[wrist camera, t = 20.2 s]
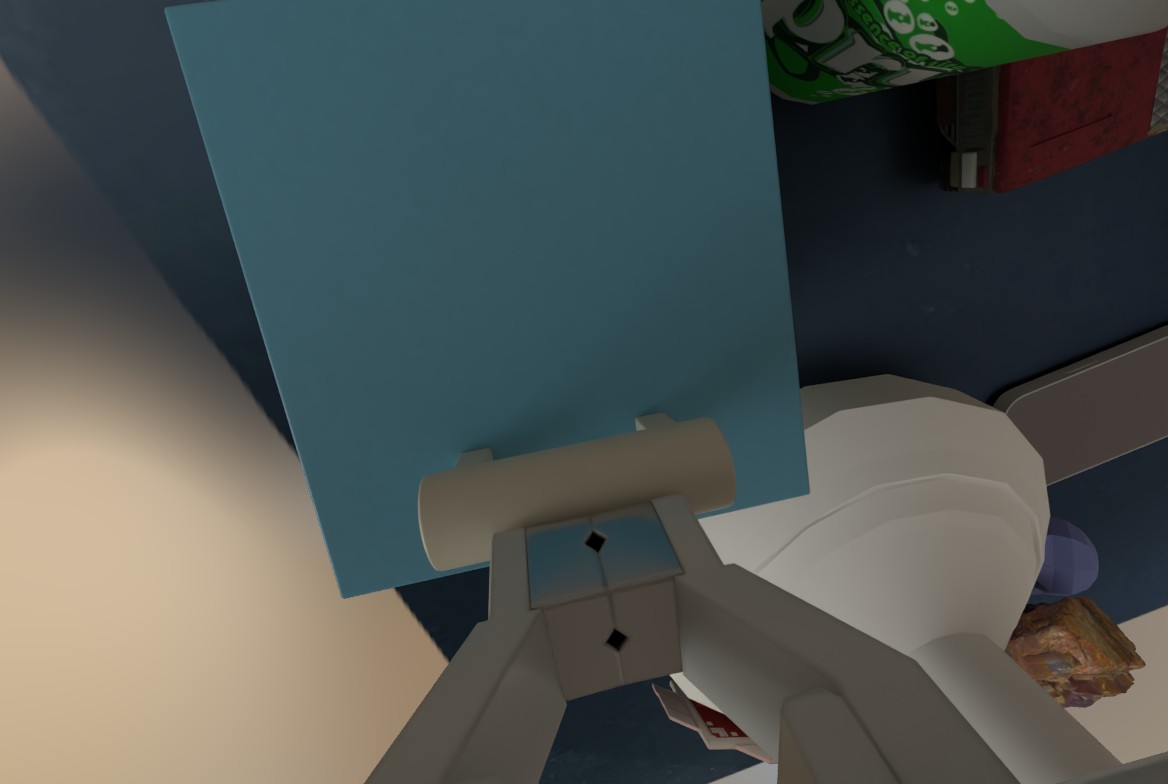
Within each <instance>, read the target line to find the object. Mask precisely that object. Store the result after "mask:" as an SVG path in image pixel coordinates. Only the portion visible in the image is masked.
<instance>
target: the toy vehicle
mask: <svg viewBox="0 0 1168 784" xmlns="http://www.w3.org/2000/svg"><path fill="white" fill-rule="evenodd" d="M936 86H937V125H939V127H940V131H941V133H942V134H943V135H944V136H945V138H946V139H947V140H948V141H949V142H950V143H951V144H953V145H954V146H955V147H954V148H950V149H948V151H944V152H943V153H941V154H940V156H939V182H940V188H941V190H943V189H944V191H947V190H949V191H956V192H958V191H965V192H975V193H985V194H995V192H999V193H1004V192H1008V191H1011V190H1014V189H1017V188H1020V187H1023V186H1025V185H1028V184H1031V183H1033V182H1036V181H1039V180H1041V179H1044V178H1047V177H1049V176H1052V175H1054V174H1057V173H1060V172H1062V171H1065V170H1067V169H1070V168H1073V167H1075V166H1078V165H1080V164H1083V163H1085V162H1088V161H1091V160H1093V159H1096V158H1098V157H1101V156H1103V155H1106V154H1108V153H1111V152H1113V151H1116V150H1118V149H1121V148H1123V147H1126V146H1128V145H1131V144H1134V143H1136V142H1139V141H1141V140H1144V139H1146V138H1149V137H1151V136H1154V135H1157V134H1159V133H1162V132H1164V131H1167V130H1168V26H1166V27H1165V28H1163V29H1160V30H1158V31H1155V32H1151V33H1147V34H1142V35H1137V36H1132V37H1128V38H1123V39H1118V40H1114V41H1109V42H1104V43H1100V44H1095V45H1090V46H1086V47H1081V48H1076V49H1071V50H1067V51H1062V52H1057V53H1053V54H1048V55H1043V56H1039V57H1034V58H1029V59H1024V60H1020V61H1015V62H1010V63H1006V64H1001V65H996V66H992V67H987V68H982V69H978V70H973V71H968V72H963V73H959V74H956V140H955V74H954V75H951V76H945V77H940V78H937V79H936ZM944 125H945V127H944ZM949 125H951V135H950V134H949Z"/></svg>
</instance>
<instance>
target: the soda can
mask: <svg viewBox="0 0 1168 784" xmlns="http://www.w3.org/2000/svg"><path fill="white" fill-rule="evenodd" d="M761 6H762V16H763V26H764V36H765V46H766V56H767V66H768V76H769V86H770V91H771V92H773V93H774V94H776V95H777V96H779V97H780V98H782V99H784V100H790V101H795V102H801V103H806V104H812V105H813V104H818V103H823V102H827V101H832V100H837V99H841V98H846V97H851V96H856V95H860V94H865V93H870V92H874V91H879V90H884V89H888V88H893V87H898V86H902V85H907V84H912V83H917V82H921V81H926V80H931V79H935V78H940V77H945V76H949V75H954V74H959V73H963V72H968V71H973V70H978V69H982V68H987V67H992V66H996V65H1001V64H1006V63H1010V62H1015V61H1020V60H1024V59H1029V58H1034V57H1039V56H1043V55H1048V54H1053V53H1057V52H1062V51H1067V50H1071V49H1076V48H1081V47H1086V46H1090V45H1095V44H1100V43H1104V42H1109V41H1114V40H1118V39H1123V38H1128V37H1132V36H1137V35H1142V34H1147V33H1151V32H1155V31H1158V30H1160V29H1163V28H1165V27H1166V26H1168V0H761Z"/></svg>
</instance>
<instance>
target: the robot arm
mask: <svg viewBox="0 0 1168 784" xmlns="http://www.w3.org/2000/svg"><path fill="white" fill-rule="evenodd" d="M680 672H683V675H684V676H685V677H686V678H687V679H688V680H689V681H690V682H691V683H692V684H693V685H694V686H695V687H696V688H697V689H698V690H700V691H701V692H702V693H703V694H704V695H705V696H706V697H707V698H708V699H709V700H710V701H711V702H712V703H713V704H714V705H715V706H717V707H718V708H719V709H720V710H721V711H722V712H723V713H724V714H725V715H726V716H727V717H728V718H729V719H730V720H731V721H732V722H734V723H735V724H736V725H737V726H738V727H739V728H740V729H741V730H742V731H743V732H744V733H745V734H746V735H747V736H748V737H749V738H751V739H752V740H753V741H754V742H755V743H756V744H757V745H758V746H759V747H760V748H761V749H762V750H763V751H764V752H765V753H766V754H768V755H769V756H770V757H771V758H772V759H773V760H774V761H775V762H776V763H777V764H778V779H777V780H778V781H777V784H1021V783H1020V782H1019V781H1018V779H1017V778H1016V777H1015V776H1014V775H1013V774H1012V772H1011V771H1010V770H1009V769H1008V768H1007V767H1006V765H1005V764H1004V763H1003V762H1002V761H1001V760H1000V758H999V757H998V756H997V755H996V754H995V753H994V751H993V750H992V749H991V748H990V747H989V745H988V744H987V743H986V742H985V741H984V740H983V738H982V737H981V736H980V735H979V734H978V733H977V731H976V730H975V729H974V728H973V727H972V726H971V724H970V723H969V722H968V721H967V720H966V719H965V717H964V716H963V715H962V714H961V713H960V711H959V710H958V709H957V708H956V707H955V706H954V704H953V703H952V702H951V701H950V700H949V699H948V697H947V696H946V695H945V694H944V693H943V692H942V690H941V689H940V688H939V687H938V686H937V685H936V683H935V682H934V681H933V680H932V679H931V678H930V676H929V675H928V674H927V673H926V672H925V670H924V669H923V668H922V667H921V666H920V665H919V663H918V662H917V661H916V660H914V659H912V658H911V657H909V656H907V655H905V654H903V653H901V652H899V651H897V650H896V649H894V648H892V647H890V646H888V645H886V644H884V643H883V642H881V641H879V640H877V639H875V638H873V637H871V636H869V635H868V634H866V633H864V632H862V631H860V630H858V629H856V628H855V627H853V626H851V625H849V624H847V623H845V622H843V621H841V620H840V619H838V618H836V617H834V616H832V615H830V614H828V613H827V612H825V611H823V610H821V609H819V608H817V607H815V606H813V605H812V604H810V603H808V602H806V601H804V600H802V599H800V598H799V597H797V596H795V595H793V594H791V593H789V592H787V591H785V590H784V589H782V588H780V587H778V586H776V585H774V584H772V583H771V582H769V581H767V580H765V579H763V578H761V577H759V576H757V575H756V574H754V573H752V572H750V571H748V570H746V569H744V568H743V567H741V566H739V565H737V564H735V563H732V564H727V565H724V564H723V562H722V561H721V559H720V557H719V555H718V554H717V552H716V550H715V548H714V547H713V545H712V543H711V542H710V540H709V538H708V536H707V535H706V533H705V531H704V529H703V528H702V526H701V524H700V523H699V521H698V519H697V517H696V516H695V514H694V512H693V510H692V509H691V507H690V505H689V504H688V502H687V500H686V498H685V497H684V495H682V494H681V493H676V494H672V495H667V496H663V497H659V498H655V499H651V500H649V501H647V502H642V503H638V504H633V505H629V506H625V507H620V508H616V509H611V510H607V511H603V512H598V513H594V514H589V515H583V516H578V517H573V518H568V519H563V520H557V521H552V522H547V523H542V524H537V525H532V526H527V527H526V528H519V529H514V530H509V531H504V532H500V533H495V534H493V536H492V539H491V547H490V581H489V614H488V621H484V622H480V623H477V625H476V626H475V628H474V629H473V630H472V632H471V633H470V635H469V636H468V637H467V639H466V640H465V642H464V643H463V644H462V646H461V647H460V649H459V650H458V652H457V653H456V654H455V656H454V657H453V659H452V660H451V661H450V663H449V664H448V666H447V667H446V669H445V670H444V671H443V673H442V674H441V676H440V677H439V678H438V680H437V681H436V683H435V684H434V685H433V687H432V689H431V690H430V691H429V693H428V694H427V695H426V697H425V698H424V700H423V701H422V702H421V704H420V705H419V707H418V708H417V709H416V711H415V712H414V714H413V715H412V717H411V718H410V719H409V721H408V722H407V724H406V725H405V727H404V728H403V729H402V731H401V732H400V734H399V735H398V736H397V738H396V739H395V741H394V742H393V744H392V745H391V746H390V748H389V749H388V750H387V752H386V753H385V755H384V756H383V758H382V759H381V760H380V762H379V763H378V765H377V766H376V767H375V769H374V770H373V772H372V773H371V775H370V776H369V777H368V779H367V780H366V782H365V783H364V784H538V782H539V779H540V777H541V774H542V771H543V768H544V766H545V763H546V760H547V758H548V755H549V752H550V749H551V747H552V744H553V741H554V738H555V736H556V733H557V730H558V728H559V725H560V722H561V719H562V717H563V714H564V711H565V709H566V706H567V704H566V701H568V700H572V699H575V698H579V697H582V696H586V695H589V694H593V693H596V692H600V691H604V690H607V689H611V688H614V687H618V686H621V685H625V684H630V683H634V682H639V681H643V680H648V679H653V678H657V677H662V676H666V675H671V674H675V673H680ZM1056 784H1168V752H1165V753H1161V754H1157V755H1154V756H1150V757H1147V758H1143V759H1140V760H1137V761H1133V762H1130V763H1126V764H1123V765H1119V766H1116V767H1112V768H1109V769H1105V770H1102V771H1098V772H1095V773H1091V774H1088V775H1084V776H1081V777H1077V778H1074V779H1070V780H1067V781H1063V782H1060V783H1056Z"/></svg>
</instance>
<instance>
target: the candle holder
mask: <svg viewBox="0 0 1168 784" xmlns="http://www.w3.org/2000/svg"><path fill="white" fill-rule="evenodd" d="M800 396H801V406H802V416H803V426H804V436H805V446H806V456H807V466H808V476H809V486H810V494H808V495H804V496H800V497H795V498H791V499H787V500H782V501H778V502H773V503H769V504H764V505H760V506H755V507H751V508H746V509H742V510H738V511H733V512H729V513H724V514H720V515H715V516H711V517H706V518H702V519H698V521H699V523H700V524H701V526H702V528H703V529H704V531H705V533H706V535H707V536H708V538H709V540H710V542H711V543H712V545H713V547H714V548H715V550H716V552H717V554H718V555H719V557H720V559H721V561H722V562H723V564H724V565H727V564H732V563H735V564H737V565H739V566H741V567H743V568H744V569H746V570H748V571H750V572H752V573H754V574H756V575H757V576H759V577H761V578H763V579H765V580H767V581H769V582H771V583H772V584H774V585H776V586H778V587H780V588H782V589H784V590H785V591H787V592H789V593H791V594H793V595H795V596H797V597H799V598H800V599H802V600H804V601H806V602H808V603H810V604H812V605H813V606H815V607H817V608H819V609H821V610H823V611H825V612H827V613H828V614H830V615H832V616H834V617H836V618H838V619H840V620H841V621H843V622H845V623H847V624H849V625H851V626H853V627H855V628H856V629H858V630H860V631H862V632H864V633H866V634H868V635H869V636H871V637H873V638H875V639H877V640H879V641H881V642H883V643H884V644H886V645H888V646H890V647H892V648H894V649H896V650H897V651H899V652H901V653H903V654H905V655H907V656H909V657H911V658H912V659H914V660H916V661H917V662H918V663H919V665H920V666H921V667H922V668H923V669H924V670H925V672H926V673H927V674H928V675H929V676H930V678H931V679H932V680H933V681H934V682H935V683H936V685H937V686H938V687H939V688H940V689H941V690H942V692H943V693H944V694H945V695H946V696H947V697H948V699H949V700H950V701H951V702H952V703H953V704H954V706H955V707H956V708H957V709H958V710H959V711H960V713H961V714H962V715H963V716H964V717H965V719H966V720H967V721H968V722H969V723H970V724H971V726H972V727H973V728H974V729H975V730H976V731H977V733H978V734H979V735H980V736H981V737H982V738H983V740H984V741H985V742H986V743H987V744H988V745H989V747H990V748H991V749H992V750H993V751H994V753H995V754H996V755H997V756H998V757H999V758H1000V760H1001V761H1002V762H1003V763H1004V764H1005V765H1006V767H1007V768H1008V769H1009V770H1010V771H1011V772H1012V774H1013V775H1014V776H1015V777H1016V778H1017V779H1018V781H1019V782H1020V783H1021V784H1056V783H1060V782H1063V781H1067V780H1070V779H1074V778H1077V777H1081V776H1084V775H1088V774H1091V773H1095V772H1098V771H1102V770H1105V769H1109V768H1112V767H1116V766H1119V765H1123V764H1122V763H1121V762H1120V761H1119V760H1118V759H1116V758H1115V757H1114V756H1113V755H1112V754H1111V753H1110V752H1109V751H1108V750H1107V749H1106V748H1105V747H1104V746H1103V745H1102V744H1101V743H1100V742H1098V740H1097V739H1095V737H1093V736H1092V735H1091V734H1090V733H1089V732H1088V731H1087V730H1086V729H1085V728H1084V727H1083V726H1082V725H1081V724H1080V723H1079V722H1078V721H1077V720H1076V719H1075V718H1074V717H1072V716H1071V715H1070V714H1069V713H1068V712H1067V711H1066V710H1065V709H1064V708H1063V707H1062V706H1061V705H1060V704H1059V703H1058V702H1057V701H1056V700H1055V699H1054V698H1053V697H1052V696H1051V695H1049V694H1048V693H1047V692H1046V691H1045V690H1044V689H1043V688H1042V687H1041V686H1040V685H1039V684H1038V683H1037V682H1036V681H1035V680H1034V679H1033V678H1032V677H1031V676H1030V675H1029V674H1027V673H1026V672H1025V671H1024V670H1023V669H1022V668H1021V667H1020V666H1019V665H1018V664H1017V663H1016V662H1015V661H1014V660H1013V659H1012V658H1011V657H1010V656H1009V655H1008V654H1007V653H1005V652H1004V651H1005V649H1006V646H1007V644H1008V642H1009V639H1010V637H1011V635H1012V632H1013V630H1014V629H1015V628H1016V626H1017V624H1018V621H1019V619H1020V617H1021V614H1022V612H1023V610H1024V609H1025V606H1026V604H1027V601H1028V599H1029V597H1030V594H1031V592H1032V589H1033V587H1034V584H1035V582H1036V580H1037V577H1038V575H1039V572H1040V570H1041V567H1042V565H1043V563H1044V555H1045V541H1046V536H1047V530H1048V525H1049V520H1050V510H1049V503H1048V495H1047V487H1046V480H1045V472H1044V465H1043V458H1042V457H1041V456H1040V455H1039V454H1038V452H1037V451H1036V450H1035V449H1034V448H1033V446H1032V445H1031V444H1030V443H1029V442H1028V440H1027V439H1026V438H1025V437H1024V436H1023V434H1022V433H1021V432H1020V431H1019V430H1018V428H1017V427H1016V426H1015V425H1014V424H1013V422H1012V421H1011V420H1010V419H1009V418H1008V416H1007V415H1006V414H1005V413H1004V412H1002V411H1000V410H998V409H995V408H993V407H991V406H989V405H987V404H985V403H983V402H981V401H979V400H977V399H975V398H973V397H970V396H968V395H966V394H964V393H962V392H960V391H958V390H955V389H951V388H947V387H942V386H938V385H934V384H929V383H925V382H921V381H916V380H912V379H908V378H903V377H899V376H895V375H890V374H885V375H878V376H871V377H865V378H858V379H851V380H845V381H838V382H831V383H825V384H818V385H811V386H805V387H803V388H801V389H800ZM670 676H671V677H672V678H673V680H674V681H675V682H676V683H677V685H678V686H679V687H680V688H681V689H682V691H683V692H684V693H685V694H686V696H687V697H688V698H689V699H692V700H694V701H696V702H698V703H701V704H703V705H705V706H707V707H709V708H712V709H714V710H716V711H718V712H721V713H723V712H722V711H721V710H720V709H719V708H718V707H717V706H715V705H714V704H713V703H712V702H711V701H710V700H709V699H708V698H707V697H706V696H705V695H704V694H703V693H702V692H701V691H700V690H698V689H697V688H696V687H695V686H694V685H693V684H692V683H691V682H690V681H689V680H688V679H687V678H686V677H685V676H684V675H683V672H680V673H675V674H671V675H670ZM723 714H724V713H723Z"/></svg>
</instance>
